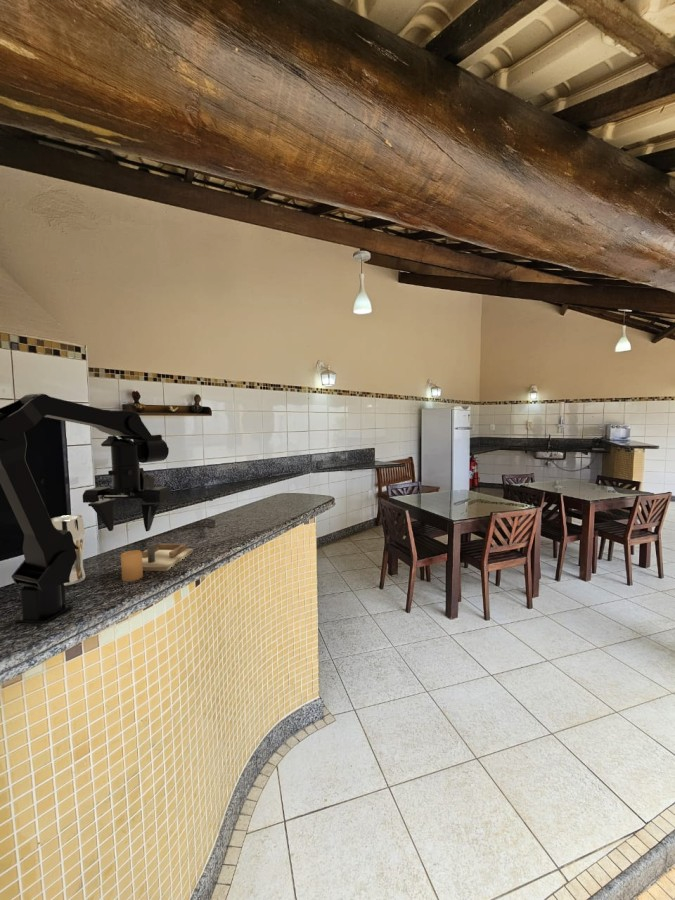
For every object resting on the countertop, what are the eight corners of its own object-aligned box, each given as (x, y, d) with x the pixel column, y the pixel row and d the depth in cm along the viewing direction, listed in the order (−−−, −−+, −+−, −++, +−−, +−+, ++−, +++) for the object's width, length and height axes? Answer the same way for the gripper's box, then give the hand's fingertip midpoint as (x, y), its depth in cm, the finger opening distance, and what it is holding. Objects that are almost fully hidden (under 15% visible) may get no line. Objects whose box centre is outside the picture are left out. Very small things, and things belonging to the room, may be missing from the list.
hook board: (166, 570, 98) (165, 550, 97) (121, 570, 99) (120, 550, 99) (192, 552, 112) (192, 534, 111) (152, 551, 113) (151, 534, 113)
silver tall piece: (69, 587, 89) (65, 522, 88) (44, 585, 90) (39, 521, 89) (94, 575, 96) (90, 514, 95) (70, 574, 97) (66, 514, 96)
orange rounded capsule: (135, 581, 92) (134, 556, 91) (118, 581, 92) (116, 556, 92) (146, 574, 96) (145, 550, 96) (129, 574, 96) (128, 550, 96)
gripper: (181, 461, 99) (183, 522, 100) (111, 462, 101) (114, 522, 102) (156, 466, 88) (159, 534, 89) (78, 466, 90) (83, 534, 91)
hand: (129, 530), depth 93 cm, fingers open, 9 cm apart
